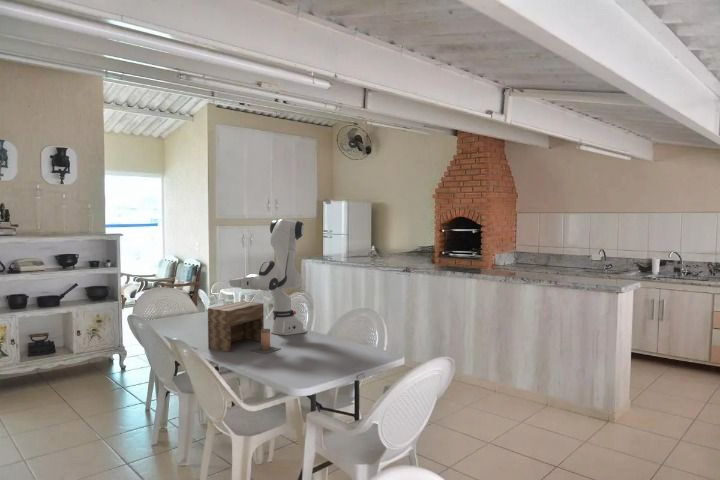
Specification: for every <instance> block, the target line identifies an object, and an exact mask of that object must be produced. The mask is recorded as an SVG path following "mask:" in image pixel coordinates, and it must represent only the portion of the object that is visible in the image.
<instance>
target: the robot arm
mask: <svg viewBox="0 0 720 480" xmlns="http://www.w3.org/2000/svg"><path fill="white" fill-rule="evenodd" d="M269 231H270V241H269V242H270V245H271V248H272V249H273V251H274V253H275V255H276V261H277V263H276V262H275V261H274V260H267V261H265V262H263V263H262V264H261V266H260V268H259V271H258V274H255V273H250V274H249V275H246V276H244V277H237V278H233V279H229V281H228V283H229V285H230V287H233V288H238V289H241V290H252V291H253V290H255V291H258V290H260V291H262V292H270V294H271V297H272V300H273V301H272V303H273V304H272V305H273V309H272V321H273V322H272V328H271V330H270V334H273V335H281V336H282V335H283V336H291V335H297V334H298V335H299V334H303V333H307V331H308V330H307V328H305V327H304V324H303V322H302V320H301V319H299V318H298V317H297V316H295V315H296V314H297V311H296V310H293V309H292V298H291V296H290V295H289V294H287V293H286V292H285V291H284V289H285V290H287V289H288V290H294V289H298V288H300V286H301V285H302V282H303V278H302V276H301V274H300V272H298V270H297V269H296V265H295V255H296V251H297V250H296V249H297V241H298V240H299V239H301V238H302V237H303V236H304V234H305V225H304V223H303V222H302V221H300V220H292V219H273V220H272V221H271V222H270V224H269Z"/></svg>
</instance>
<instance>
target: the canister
mask: <svg viewBox="0 0 720 480" xmlns="http://www.w3.org/2000/svg"><path fill="white" fill-rule="evenodd" d="M270 346H271V329H270V328H264V329H261V341H260V347H261V350H263V351H266V350H270Z"/></svg>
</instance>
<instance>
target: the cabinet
mask: <svg viewBox="0 0 720 480" xmlns="http://www.w3.org/2000/svg"><path fill="white" fill-rule="evenodd" d="M264 315H265V314H264V303H261V302H255V301H247V300H246V301H245V300H240V301H237V302H232V303H226V304H221V305H217V306H213V307H208V308H207V343H208V345H207V347H208V349H211V350H216V351H222V352H226V353H231V352H232V343H233V342H237V341H241V340H242V339H243V340H250V341H256V342H261V329H265V327H264V326H265V325H264V323H265V322H264V321H265V320H264V319H265V318H264V317H265V316H264Z"/></svg>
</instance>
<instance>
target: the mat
mask: <svg viewBox="0 0 720 480" xmlns="http://www.w3.org/2000/svg"><path fill="white" fill-rule="evenodd" d="M281 349H282V348H281V347H275V346H271V345H270V350H266V351H263V350H261V346H260V347H256V348H253V349H250V350H249V352H253V353H260V354H265V355H268V354H271V353H273V352H276V351H279V350H281Z"/></svg>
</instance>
